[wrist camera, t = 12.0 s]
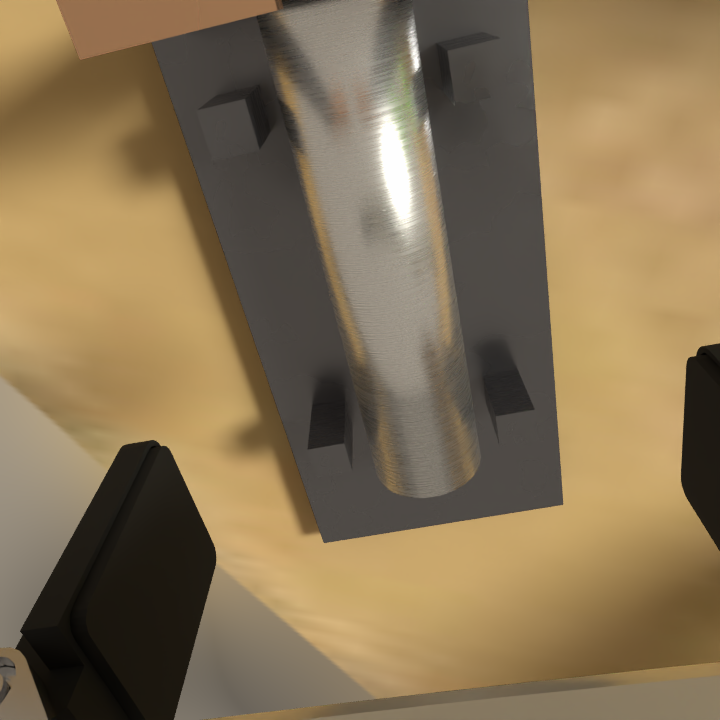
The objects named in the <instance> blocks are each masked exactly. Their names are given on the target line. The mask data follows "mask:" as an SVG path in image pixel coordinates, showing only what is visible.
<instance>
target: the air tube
mask: <svg viewBox="0 0 720 720" xmlns="http://www.w3.org/2000/svg"><path fill="white" fill-rule="evenodd" d="M282 4H283V8H284V9H281V10H277V11H273V12H269V13H265V14H261V15H257V16H256V17H257V20H258V24H259V28H260V32H261V36H262V39H263V43H264V47H265V51H266V55H267V58H268V62H269V66H270V70H271V74H272V77H273V81H274V85H275V89H276V93H277V96H278V100H279V104H280V108H281V112H282V115H283V119H284V123H285V127H286V131H287V134H288V138H289V142H290V146H291V149H292V153H293V157H294V161H295V165H296V168H297V172H298V176H299V180H300V184H301V187H302V191H303V195H304V199H305V203H306V206H307V210H308V214H309V218H310V222H311V225H312V229H313V233H314V237H315V241H316V244H317V248H318V252H319V256H320V260H321V263H322V267H323V271H324V275H325V279H326V282H327V286H328V290H329V294H330V298H331V301H332V305H333V309H334V313H335V317H336V320H337V324H338V328H339V332H340V336H341V339H342V343H343V347H344V351H345V355H346V358H347V362H348V366H349V370H350V374H351V377H352V381H353V385H354V389H355V393H356V396H357V400H358V404H359V408H360V412H361V415H362V419H363V423H364V427H365V431H366V434H367V438H368V442H369V446H370V450H371V453H372V457H373V461H374V465H375V469H376V472H377V476H378V478H379V480H380V482H381V483H382V484H383V485H384V486H385V487H386V488H387V489H389V490H390V491H392V492H394V493H396V494H399V495H402V496H406V497H411V498H429V497H436V496H440V495H444V494H447V493H449V492H452V491H454V490H456V489H458V488H460V487H461V486H463V485H464V484H466V483H467V482H468V481H469V480H470V479H471V478H472V477H473V476H474V475H475V473H476V471H477V470H478V468H479V465H480V461H481V455H480V448H479V442H478V435H477V428H476V422H475V415H474V409H473V402H472V395H471V389H470V382H469V376H468V369H467V362H466V356H465V349H464V343H463V336H462V329H461V323H460V316H459V310H458V303H457V296H456V290H455V283H454V277H453V270H452V263H451V257H450V250H449V244H448V237H447V230H446V224H445V217H444V211H443V204H442V197H441V191H440V184H439V178H438V171H437V165H436V158H435V151H434V145H433V138H432V132H431V125H430V118H429V112H428V105H427V99H426V92H425V85H424V79H423V72H422V66H421V59H420V52H419V46H418V39H417V33H416V26H415V19H414V13H413V6H412V0H282Z"/></svg>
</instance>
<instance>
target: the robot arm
mask: <svg viewBox="0 0 720 720" xmlns="http://www.w3.org/2000/svg"><path fill="white" fill-rule="evenodd" d="M681 482H682V487H683V490H684V493H685V495H686V497H687V499H688V501H689V502H690V504H691V506H692V507H693V509H694V510H695V512H696V514H697V515H698V517H699V518H700V520H701V522H702V523H703V525H704V526H705V528H706V530H707V531H708V533H709V535H710V536H711V538H712V539H713V541H714V543H715V544H716V546H717V547H718V549H719V551H720V343H719V344H714V345H708V346H702V347H700V348H699V349H698V351H697V355H696V356H694V357H690V358H688V361H687V365H686V385H685V405H684V425H683V445H682V465H681ZM215 566H216V551H215V547H214V544H213V542H212V540H211V538H210V535H209V533H208V531H207V529H206V527H205V525H204V522H203V520H202V518H201V516H200V514H199V512H198V509H197V507H196V505H195V503H194V501H193V499H192V496H191V494H190V492H189V490H188V488H187V486H186V483H185V481H184V479H183V477H182V475H181V473H180V471H179V468H178V466H177V464H176V462H175V460H174V458H173V455H172V453H171V451H170V450H169V448H168V447H167V446H160V444H159V443H158V442H157V441H154V440H150V441H144V442H138V443H133V444H127V445H124V446H122V448H121V449H120V450H119V452H118V454H117V456H116V458H115V459H114V461H113V463H112V465H111V467H110V468H109V470H108V472H107V474H106V476H105V478H104V479H103V481H102V483H101V485H100V487H99V489H98V491H97V492H96V494H95V496H94V498H93V499H92V501H91V503H90V505H89V507H88V508H87V510H86V512H85V514H84V516H83V518H82V519H81V521H80V523H79V525H78V527H77V529H76V530H75V532H74V534H73V536H72V538H71V539H70V541H69V543H68V545H67V547H66V549H65V550H64V552H63V554H62V556H61V558H60V559H59V561H58V563H57V565H56V567H55V569H54V570H53V572H52V574H51V576H50V578H49V579H48V581H47V583H46V585H45V587H44V588H43V590H42V592H41V594H40V596H39V598H38V599H37V601H36V603H35V605H34V607H33V608H32V610H31V612H30V614H29V616H28V618H27V619H26V621H25V623H24V625H23V627H22V629H21V631H20V632H21V633H22V634H23V636H22V638H21V639H20V641H19V643H18V645H17V647H16V648H15V649H14V648H11V647H7V648H0V720H174V717H175V713H176V709H177V705H178V702H179V698H180V695H181V691H182V687H183V684H184V680H185V676H186V673H187V669H188V665H189V661H190V658H191V654H192V650H193V647H194V643H195V639H196V635H197V632H198V628H199V625H200V621H201V617H202V614H203V610H204V606H205V602H206V599H207V595H208V591H209V588H210V584H211V581H212V577H213V573H214V569H215ZM204 720H720V662H714V663H703V664H694V665H684V666H675V667H666V668H656V669H647V670H638V671H628V672H619V673H610V674H600V675H591V676H582V677H572V678H563V679H554V680H544V681H535V682H526V683H517V684H508V685H499V686H490V687H481V688H472V689H463V690H454V691H445V692H436V693H428V694H419V695H410V696H401V697H392V698H384V699H375V700H367V701H358V702H348V703H340V704H332V705H323V706H315V707H306V708H297V709H289V710H280V711H272V712H264V713H255V714H247V715H239V716H230V717H221V718H213V719H204Z"/></svg>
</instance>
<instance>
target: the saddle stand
mask: <svg viewBox="0 0 720 720" xmlns="http://www.w3.org/2000/svg"><path fill="white" fill-rule="evenodd" d="M56 1H57V4H58V6H59V9H60V11H61V14H62V16H63V19H64V21H65V24H66V26H67V29H68V31H69V34H70V36H71V39H72V41H73V44H74V46H75V49H76V51H77V54H78V56H79V59H80V60H82V59H86V58H90V57H94V56H98V55H102V54H106V53H110V52H114V51H118V50H122V49H126V48H130V47H134V46H138V45H142V44H146V43H150V42H151V43H152V45H153V48H154V51H155V54H156V57H157V60H158V63H159V66H160V69H161V72H162V75H163V77H164V80H165V83H166V86H167V89H168V92H169V95H170V98H171V101H172V104H173V106H174V109H175V112H176V115H177V118H178V121H179V124H180V127H181V130H182V133H183V136H184V138H185V141H186V144H187V147H188V150H189V153H190V156H191V159H192V162H193V165H194V167H195V170H196V173H197V176H198V179H199V182H200V185H201V188H202V191H203V194H204V196H205V199H206V202H207V205H208V208H209V211H210V214H211V217H212V220H213V223H214V226H215V228H216V231H217V234H218V237H219V240H220V243H221V246H222V249H223V252H224V255H225V257H226V260H227V263H228V266H229V269H230V272H231V275H232V278H233V281H234V284H235V287H236V289H237V292H238V295H239V298H240V301H241V304H242V307H243V310H244V313H245V316H246V318H247V321H248V324H249V327H250V330H251V333H252V336H253V339H254V342H255V345H256V348H257V350H258V353H259V356H260V359H261V362H262V365H263V368H264V371H265V374H266V377H267V379H268V382H269V385H270V388H271V391H272V394H273V397H274V400H275V403H276V406H277V408H278V411H279V414H280V417H281V420H282V423H283V426H284V429H285V432H286V435H287V438H288V440H289V443H290V446H291V449H292V452H293V455H294V458H295V461H296V464H297V467H298V469H299V472H300V475H301V478H302V481H303V484H304V487H305V490H306V493H307V496H308V499H309V501H310V504H311V507H312V510H313V513H314V516H315V519H316V522H317V525H318V528H319V530H320V533H321V536H322V539H323V542H324V543H327V542H334V541H340V540H346V539H352V538H359V537H365V536H371V535H377V534H383V533H390V532H396V531H402V530H408V529H415V528H421V527H427V526H433V525H440V524H446V523H452V522H458V521H464V520H471V519H477V518H483V517H489V516H496V515H502V514H508V513H514V512H521V511H527V510H533V509H539V508H545V507H552V506H558V505H563V494H562V480H561V466H560V452H559V438H558V423H557V409H556V395H555V381H554V367H553V353H552V338H551V324H550V310H549V296H548V282H547V268H546V253H545V239H544V225H543V211H542V197H541V183H540V168H539V154H538V140H537V126H536V112H535V98H534V83H533V69H532V55H531V41H530V27H529V13H528V0H412V6H413V13H414V19H415V26H416V33H417V39H418V46H419V52H420V59H421V66H422V72H423V79H424V85H425V92H426V99H427V105H428V112H429V118H430V125H431V132H432V138H433V145H434V151H435V158H436V165H437V171H438V178H439V184H440V191H441V197H442V204H443V211H444V217H445V224H446V230H447V237H448V244H449V250H450V257H451V263H452V270H453V277H454V283H455V290H456V296H457V303H458V310H459V316H460V323H461V329H462V336H463V343H464V349H465V356H466V362H467V369H468V376H469V382H470V389H471V395H472V402H473V409H474V415H475V422H476V428H477V435H478V442H479V448H480V455H481V461H480V465H479V468H478V470H477V471H476V473H475V475H474V476H473V477H472V478H471V479H470V480H469V481H468V482H467V483H466V484H464V485H463V486H461V487H460V488H458V489H456V490H454V491H452V492H449V493H447V494H444V495H440V496H436V497H429V498H411V497H406V496H402V495H399V494H396V493H394V492H392V491H390V490H389V489H387V488H386V487H385V486H384V485H383V484H382V483H381V482H380V480H379V478H378V476H377V472H376V469H375V465H374V461H373V457H372V453H371V450H370V446H369V442H368V438H367V434H366V431H365V427H364V423H363V419H362V415H361V412H360V408H359V404H358V400H357V396H356V393H355V389H354V385H353V381H352V377H351V374H350V370H349V366H348V362H347V358H346V355H345V351H344V347H343V343H342V339H341V336H340V332H339V328H338V324H337V320H336V317H335V313H334V309H333V305H332V301H331V298H330V294H329V290H328V286H327V282H326V279H325V275H324V271H323V267H322V263H321V260H320V256H319V252H318V248H317V244H316V241H315V237H314V233H313V229H312V225H311V222H310V218H309V214H308V210H307V206H306V203H305V199H304V195H303V191H302V187H301V184H300V180H299V176H298V172H297V168H296V165H295V161H294V157H293V153H292V149H291V146H290V142H289V138H288V134H287V131H286V127H285V123H284V119H283V115H282V112H281V108H280V104H279V100H278V96H277V93H276V89H275V85H274V81H273V77H272V74H271V70H270V66H269V62H268V58H267V55H266V51H265V47H264V43H263V39H262V36H261V32H260V28H259V24H258V20H257V17H256V16H257V15H261V14H265V13H269V12H273V11H277V10H281V9H284V8H283V4H282V0H56Z"/></svg>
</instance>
